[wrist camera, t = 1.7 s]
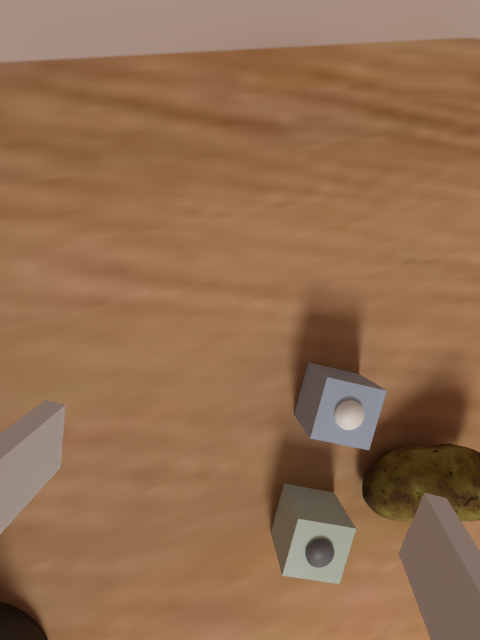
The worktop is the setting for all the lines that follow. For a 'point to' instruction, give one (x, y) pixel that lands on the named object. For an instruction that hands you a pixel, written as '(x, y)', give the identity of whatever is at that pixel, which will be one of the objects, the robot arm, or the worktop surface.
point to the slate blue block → (339, 406)
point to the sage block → (311, 534)
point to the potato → (424, 481)
